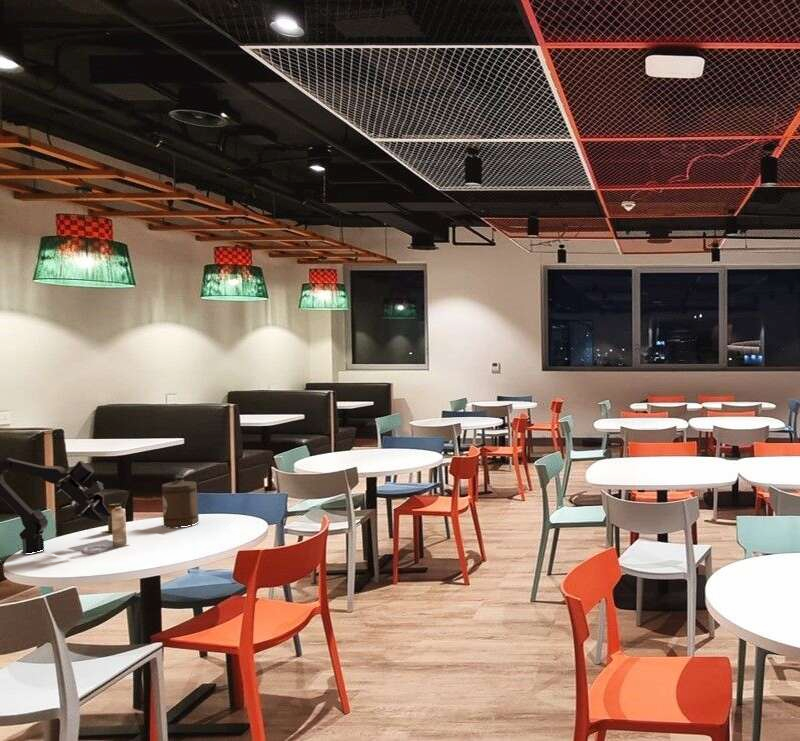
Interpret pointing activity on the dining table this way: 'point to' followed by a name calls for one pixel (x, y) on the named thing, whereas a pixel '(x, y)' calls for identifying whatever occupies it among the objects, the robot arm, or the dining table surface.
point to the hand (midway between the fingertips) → (105, 518)
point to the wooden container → (180, 503)
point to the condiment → (110, 517)
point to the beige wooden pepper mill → (119, 527)
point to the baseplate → (95, 547)
